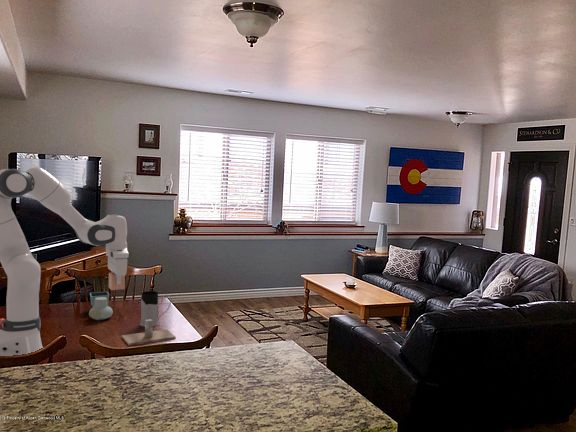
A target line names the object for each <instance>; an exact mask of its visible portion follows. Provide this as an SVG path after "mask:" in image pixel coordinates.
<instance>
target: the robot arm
mask: <svg viewBox="0 0 576 432" xmlns="http://www.w3.org/2000/svg"><path fill="white" fill-rule="evenodd" d="M27 194H29V195H30V196H32V197H33V198H34V199H36V200H37V202H39V203H40V204H41V205H42V206H43V207H45V208H47V209H48V210H50V211H51V212H53V213H55V214H57V215H59V217H60V218H61V219H63V220H64V221H65V222H66V223H67V224H68V225H69V226H70V227H71V228H72V229H73V230H74V232H75V235H76V237H77V240H79V241H80V242H82V243H83V244H89V245H92V246H97V247H99V246H102V245H105V256H106V257H107V269H108V270H109V271H110V273H112V272H113V273H115V274H116V277H117V278H116V284H117V285H119V284H121V279H122V276H125V277H126V275H127V271H128V258H129V251H128V242H127V236H128V224H127V219H126V217H125V216H123V215H121V214H120V215H119V214H113V213H109V214H107V216H105V217H104V218H102V219H100V220H98V221H93V220H91V219H87V218H86V217H84V216H83V215H82V214H81V213H80V212H79V211H78V210H77V209H76V208H75V207H74V206H73V205H72V203H71V199H72V194H71V193H70V191H69V190H68V188H67V187H66V186H65V185H64V184H63V183H62V182H61V181H60V180H58V179H57V178H56V177H55V176H54V175H53V174H51V173H50V172H48V171H47V170H45V169H44V168H42V167H40V166H33V167H29V168H28V169H27V170H26V171H24V170H21V169H17V168H3V169H0V264H1V267H2V269H3V270H4V272H5V274H6V276H7V277H6V278H7V289H6V300H5V301H6V304H5V307H6V318H0V356H13V355H22V354H28V353H31V352H35V351H37V350H39V349H41V348H43V349H44V347H43V344H42V339H41V332H40V331H41V326H42V325H41V317H40V314H39V313H40V312H39V311H40V310H39V309H40V307H39V306H40V305H39V302H40V301H39V299H40V298H39V296H40V295H39V294H40V286H41V275H42V274H41V271H42V268H41V264H40V263H39V262H38V261H37V260H36V259H35V257H34V256H33V254H32V252H31V250H30V247H29V245H28V242H27V239H26V236H25V234H24V232H23V230H22V228H21V225H20V224H19V221H18V219H17V216H16V215H15V213H14V211H13V209H12V199H17V198H21V197H23V196H25V195H27Z"/></svg>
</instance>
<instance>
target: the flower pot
mask: <svg viewBox="0 0 576 432" xmlns="http://www.w3.org/2000/svg"><path fill="white" fill-rule="evenodd" d="M89 297H90V304H91V309H92V308H93V307H94V303H95V298H98V297H106V298H107V306H109V300H110V293H109V291H97V292H96V291H95V292H89Z"/></svg>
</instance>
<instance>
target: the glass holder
mask: <svg viewBox="0 0 576 432" xmlns="http://www.w3.org/2000/svg"><path fill="white" fill-rule="evenodd" d="M166 296H169V298H170V299H169V305H168V307H167V308H166V310H165V311H163V312H162V313H161V314H160V315H159V305H161V304H162V303H163V298H164V297H166ZM140 303H141V305H140V308H141V309H140V312H141V313H140V316H141V317H140V319H141V320H140V324H139V325H140V326H141V327H144V328H145V320H147V319H151V320H153V327H156V326H159V325H160V322H159V320H160V318H161V316H163V315H164V314H165V313H166V312H167V311H168V310H169V308H170V307H171V304H172V298H171V296H170V295H169V294H164V295H163V296H161V302H159V292H158V291H155V290H153V291H152V290H149V291H142V292H141V300H140Z"/></svg>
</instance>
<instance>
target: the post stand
mask: <svg viewBox="0 0 576 432" xmlns="http://www.w3.org/2000/svg"><path fill="white" fill-rule="evenodd" d="M153 328H154V326H153V320H151V319H147V320H145V327H144V331H143V332H137V333H129V334H122V335H121V338H122V339H121V340H123V341H124V342H125V344H126V345H128V346H129V347H131V346H137V345H143V344H151V343H157V342H163V341H170V340H176V338H177V336H176V335H174V334H173V333H172V332H171V331H170V330H169V329H168V328H166V329H165V328H164V329H158V330H153Z"/></svg>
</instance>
